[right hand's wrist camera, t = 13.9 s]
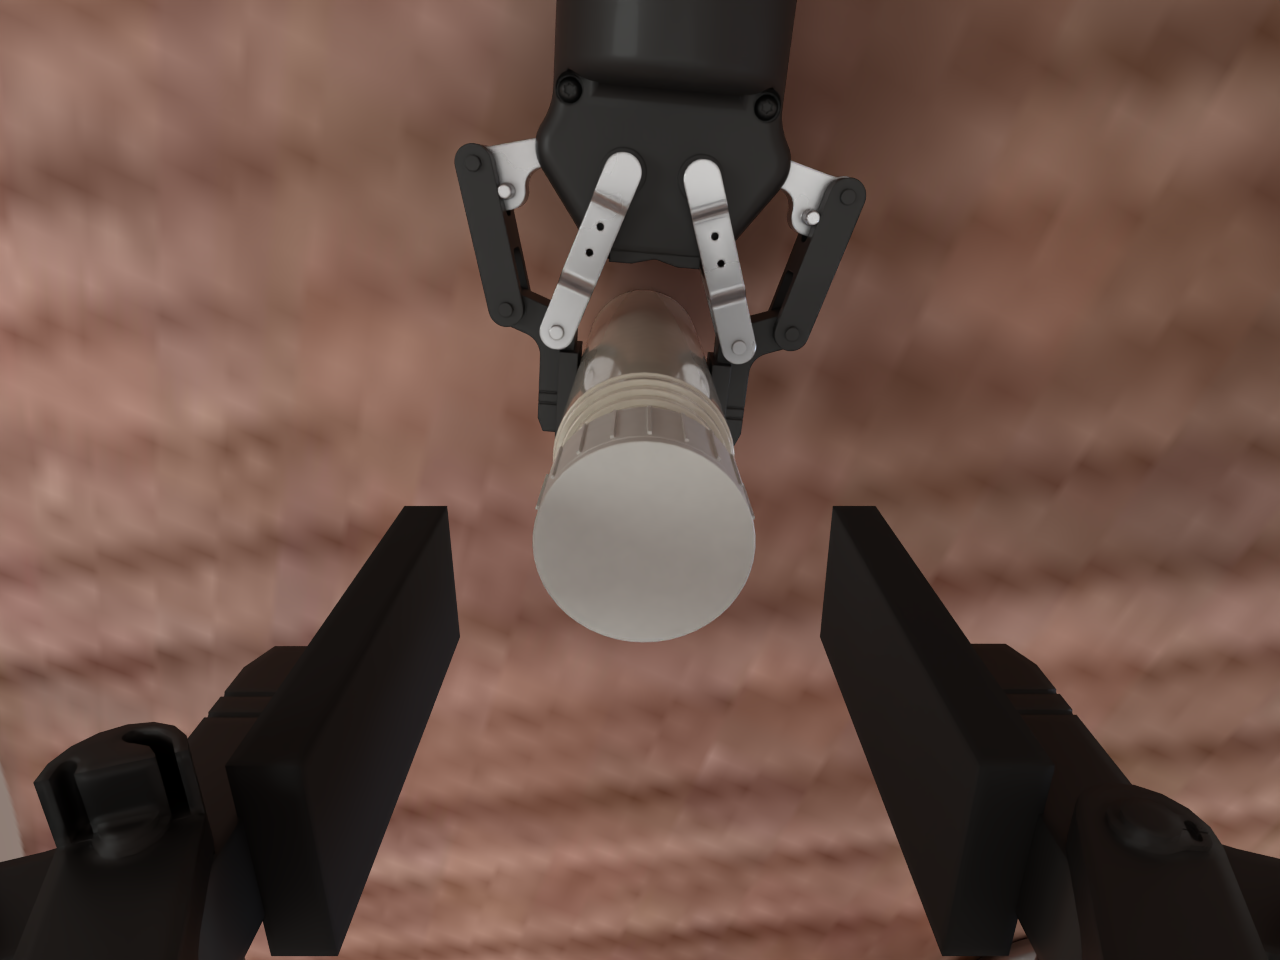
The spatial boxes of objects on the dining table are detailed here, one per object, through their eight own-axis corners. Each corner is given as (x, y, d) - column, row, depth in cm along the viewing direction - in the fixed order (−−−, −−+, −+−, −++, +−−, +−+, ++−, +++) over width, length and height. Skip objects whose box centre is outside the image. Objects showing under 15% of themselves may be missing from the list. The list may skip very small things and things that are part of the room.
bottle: (719, 345, 35) (807, 540, 16) (642, 418, 36) (642, 676, 18) (643, 266, 34) (645, 379, 15) (566, 344, 35) (480, 537, 16)
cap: (785, 501, 18) (805, 548, 16) (642, 622, 20) (643, 683, 17) (645, 361, 17) (646, 390, 15) (502, 500, 18) (483, 546, 16)
